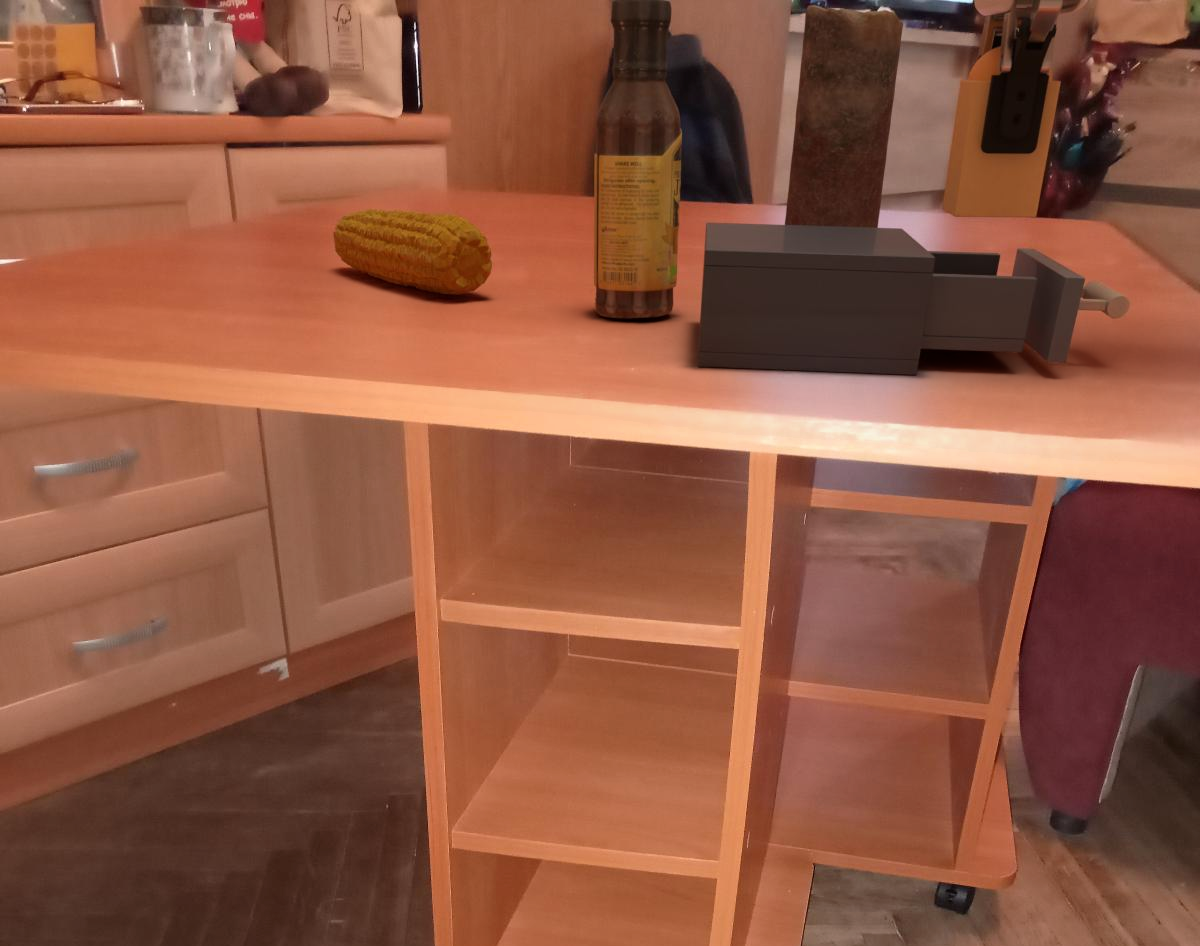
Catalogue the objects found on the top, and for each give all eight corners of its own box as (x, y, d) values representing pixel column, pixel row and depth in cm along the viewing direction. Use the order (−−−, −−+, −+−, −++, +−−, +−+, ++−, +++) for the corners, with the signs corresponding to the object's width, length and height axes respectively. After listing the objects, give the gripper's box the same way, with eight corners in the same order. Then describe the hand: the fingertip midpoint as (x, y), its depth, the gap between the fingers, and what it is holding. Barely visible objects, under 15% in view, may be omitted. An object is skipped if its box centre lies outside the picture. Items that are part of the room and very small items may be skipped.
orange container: (1019, 209, 75) (1048, 45, 70) (1036, 217, 71) (1067, 44, 67) (942, 209, 76) (965, 45, 71) (954, 216, 72) (979, 44, 67)
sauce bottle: (687, 320, 86) (705, -3, 76) (609, 324, 84) (617, -6, 74) (654, 305, 91) (667, 1, 81) (580, 309, 89) (583, -2, 79)
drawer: (1078, 325, 83) (1096, 250, 80) (1134, 365, 72) (1157, 280, 69) (843, 317, 84) (852, 242, 81) (863, 355, 73) (874, 270, 70)
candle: (793, 292, 98) (822, 8, 87) (878, 300, 95) (919, 8, 84) (764, 306, 92) (791, 3, 81) (853, 315, 90) (893, 3, 79)
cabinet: (887, 331, 84) (902, 228, 81) (916, 375, 72) (935, 257, 69) (699, 324, 85) (706, 222, 82) (697, 366, 73) (705, 249, 70)
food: (504, 298, 93) (502, 216, 89) (446, 306, 90) (441, 221, 86) (366, 265, 106) (360, 192, 103) (312, 270, 103) (303, 195, 99)
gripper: (1187, -280, 54) (1097, 160, 64) (1089, -208, 69) (1028, 143, 78) (1026, -276, 55) (961, 159, 65) (961, -206, 69) (916, 142, 79)
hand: (998, 146), depth 72 cm, fingers closed on orange container, 4 cm apart
